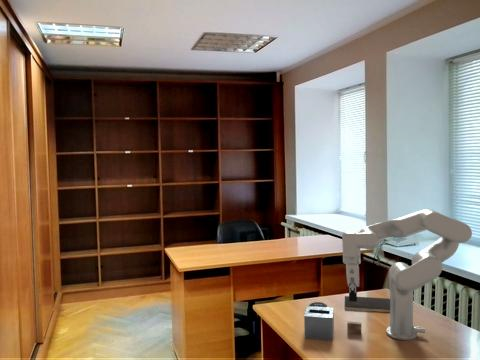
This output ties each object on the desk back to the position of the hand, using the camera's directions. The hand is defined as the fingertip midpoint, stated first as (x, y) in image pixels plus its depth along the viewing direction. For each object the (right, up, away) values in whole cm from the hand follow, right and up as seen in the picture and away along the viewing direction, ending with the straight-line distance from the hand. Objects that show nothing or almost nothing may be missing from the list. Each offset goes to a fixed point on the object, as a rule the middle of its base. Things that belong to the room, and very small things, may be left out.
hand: (353, 297), depth 188 cm
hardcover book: (+16, -14, +34) cm, 40 cm away
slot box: (-14, -17, +2) cm, 22 cm away
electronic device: (-11, -15, +28) cm, 33 cm away
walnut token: (+1, -16, +1) cm, 16 cm away
